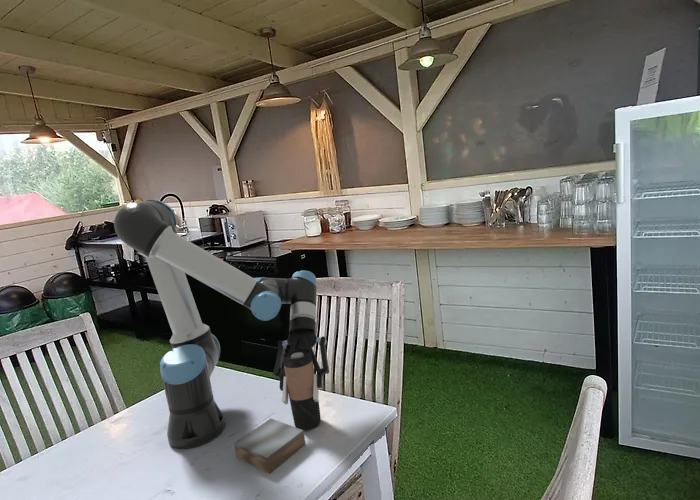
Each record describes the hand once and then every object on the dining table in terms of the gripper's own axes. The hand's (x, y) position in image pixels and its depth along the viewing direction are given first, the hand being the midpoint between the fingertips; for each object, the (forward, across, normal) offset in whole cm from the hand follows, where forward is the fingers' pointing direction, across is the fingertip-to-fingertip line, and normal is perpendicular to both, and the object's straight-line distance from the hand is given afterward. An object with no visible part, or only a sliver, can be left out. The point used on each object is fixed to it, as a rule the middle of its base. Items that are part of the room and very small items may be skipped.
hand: (300, 401), depth 115 cm
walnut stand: (+11, +7, -1) cm, 13 cm away
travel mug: (+4, 0, -9) cm, 9 cm away
